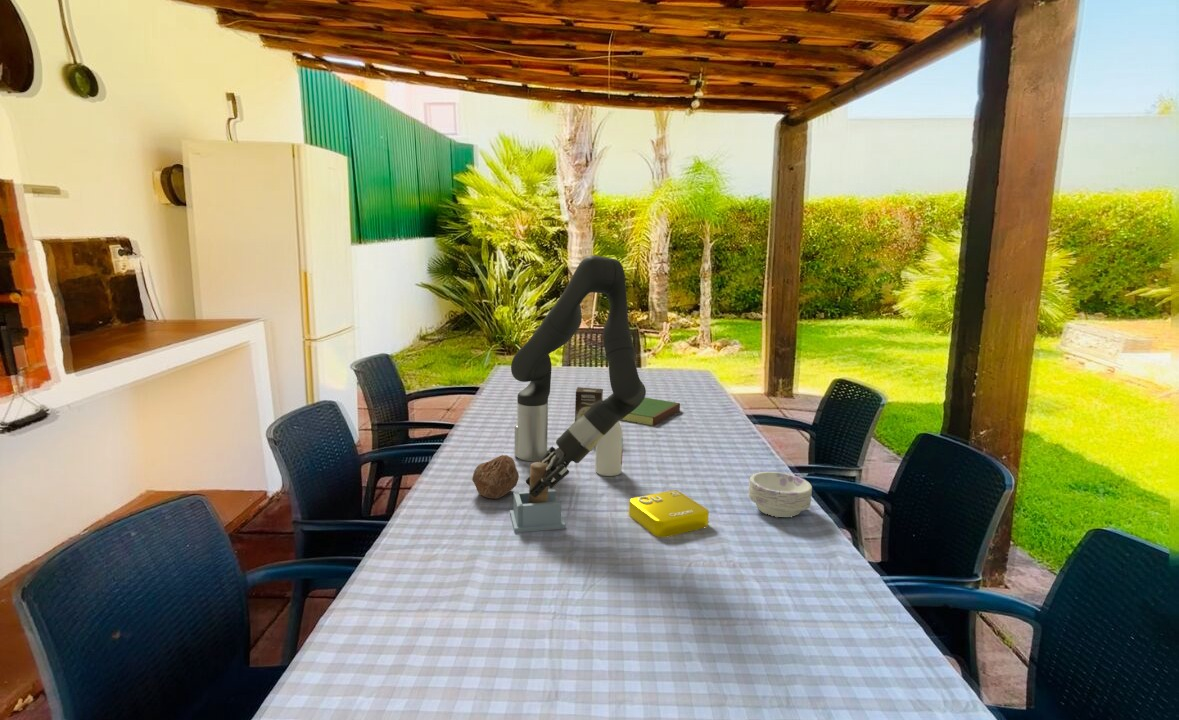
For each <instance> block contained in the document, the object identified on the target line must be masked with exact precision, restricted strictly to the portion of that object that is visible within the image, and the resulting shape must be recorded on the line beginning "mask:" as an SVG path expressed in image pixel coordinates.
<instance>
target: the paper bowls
mask: <svg viewBox="0 0 1179 720" xmlns="http://www.w3.org/2000/svg"><path fill="white" fill-rule="evenodd" d="M812 492H813V486H812V484H811V483H810V482H809V481H808V480H807V479H804V478H803V477H800V476H797V475H795V474H794V475H793V474H791V473H785V472H779V471H778V472H777V471H760V472H757V473H754V474H752V475H751V476H750V478H749V484H748V497H749V499H750V500H751V501H752V502H753V503H754V504H755V505H756V508H758V510H759V511H760V512H762V513H763V514H765V515H767V514H768V515H767V516H769V515H771V516H770V517H773V516H775V517H774V518H778V517H791V516H795V515H797V514H798V515H799V514H800V513H801V512H803V511H806V510H807V509H809V508H810V507H811V502H812ZM798 515H797V516H798ZM795 517H796V516H795ZM791 518H792V517H791Z"/></svg>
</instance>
